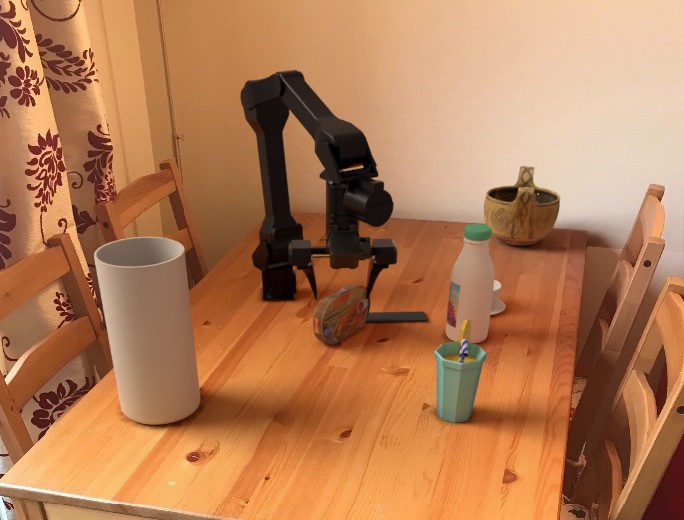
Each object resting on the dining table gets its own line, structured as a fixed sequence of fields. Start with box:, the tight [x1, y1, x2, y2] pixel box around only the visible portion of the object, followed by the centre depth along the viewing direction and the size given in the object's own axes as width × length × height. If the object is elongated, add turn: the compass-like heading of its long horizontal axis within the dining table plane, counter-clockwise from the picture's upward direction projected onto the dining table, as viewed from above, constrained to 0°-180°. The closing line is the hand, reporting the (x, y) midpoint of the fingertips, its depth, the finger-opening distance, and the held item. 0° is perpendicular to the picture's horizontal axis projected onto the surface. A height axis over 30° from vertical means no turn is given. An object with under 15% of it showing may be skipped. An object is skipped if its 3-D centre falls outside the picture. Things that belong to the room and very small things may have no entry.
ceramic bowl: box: [483, 165, 561, 247], centre depth 184 cm, size 22×17×15 cm
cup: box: [433, 320, 488, 424], centre depth 119 cm, size 14×8×15 cm, turn 174°
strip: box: [365, 311, 427, 324], centre depth 153 cm, size 12×4×1 cm, turn 92°
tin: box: [312, 283, 371, 345], centre depth 145 cm, size 15×3×8 cm, turn 143°
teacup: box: [490, 279, 507, 316], centre depth 156 cm, size 10×10×5 cm
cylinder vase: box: [93, 236, 201, 426], centre depth 119 cm, size 12×12×25 cm
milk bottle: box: [445, 223, 495, 344], centre depth 141 cm, size 8×8×20 cm
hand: (341, 298), depth 144 cm, fingers open, 9 cm apart
